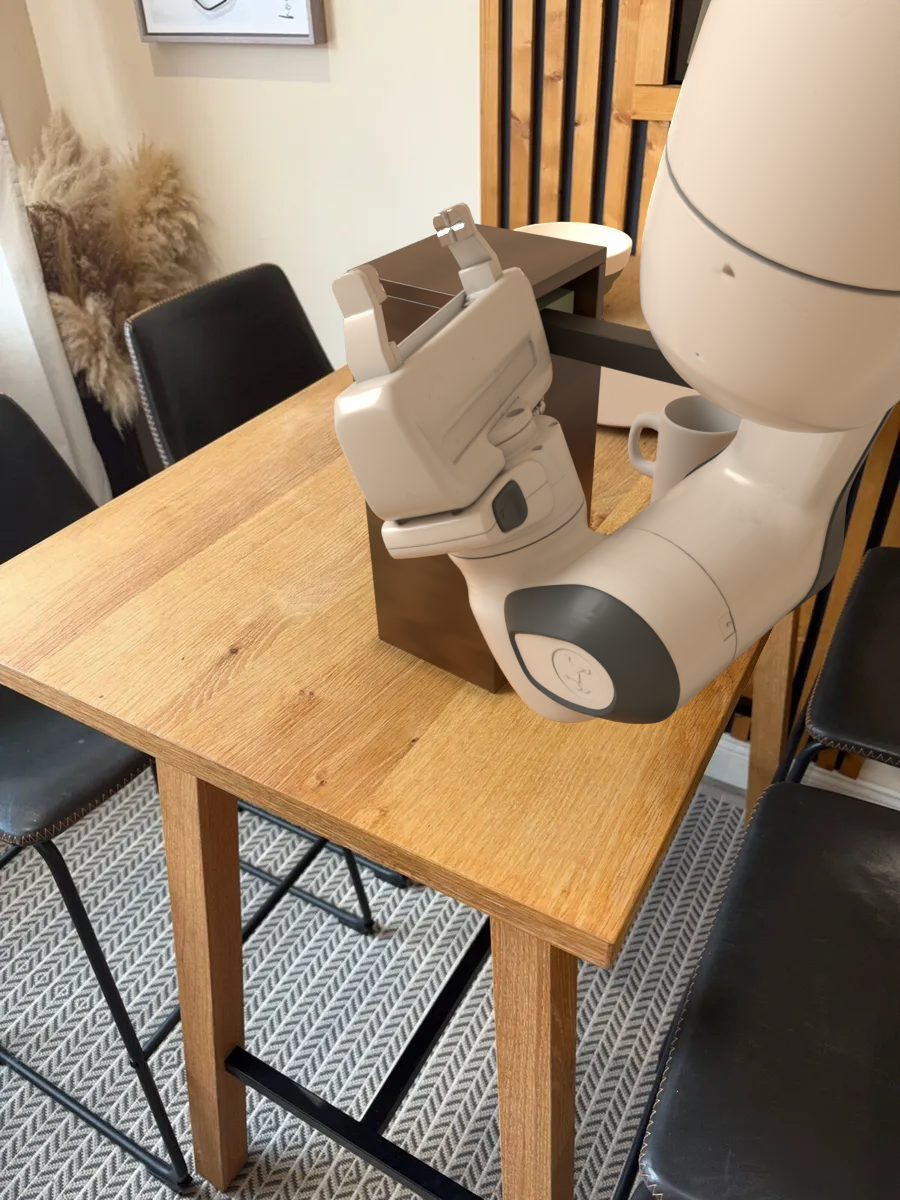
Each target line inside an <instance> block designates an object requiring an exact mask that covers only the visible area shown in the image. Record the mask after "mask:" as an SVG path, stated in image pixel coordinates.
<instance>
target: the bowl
mask: <svg viewBox="0 0 900 1200" xmlns="http://www.w3.org/2000/svg"><path fill="white" fill-rule="evenodd" d="M513 230H514V231H520V232H526V233H531V234H537V235H543V236H548V237H554V238H560V239H565V240H571V241H576V242H582V243H588V244H593V245H599V246H605V247H607V257H606V270H605V285H604V296H606V295H607V293H609V292H610V290H611V289H613V288H612V287H613V286H614V283H615V282H616V280H617V279H618V278H619V277H620V276H621V274H622V272H623V271H624V270H625V267H626V266H627V265H628V262H629V259H630V256H631V253H632V248H633V239H632V238H631V237H630V236H629V235H628V234H627V233H625V232H624V231H622V230H619V229H617V228H614V227H612V226H611V227H610V226H606V225H601V224H596V223H589V222H577V221H575V222H574V221H555V222H543V223H534V224H529V225H525V226H521V227H516V228H514V229H513Z"/></svg>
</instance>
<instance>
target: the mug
mask: <svg viewBox="0 0 900 1200" xmlns="http://www.w3.org/2000/svg"><path fill="white" fill-rule="evenodd" d="M741 420H742V418H741V417H738V416H736V415H734V414H732V413H730V412H728V411H726V410H724V409H722V408H720V407H719V406H717V405H715V404H714V403H712V402H711V401H709V400H708V399H706V398H705V397H704V396H702V395H688V396H682V397H678V398H676V399H673V400H671V401H669V402H668V403H667V404H666V405H665V406H664V407H663V409H662V412H661V413H656V412H644V413H642V414H640V415H639V416H637V417H636V419H635V420H634V422H633V424H632V426H631V429H630V430H629V433H628V439H627V453H628V460H629V463H630V465H631V466H632V468H633V469H634V470H635V471H636V472H638V473H639V474H641V475H643V476H646V477H648V478H649V479H650V478H651V479H652V485H651V493H650V501H649V505H650V504H651V503H653V502H654V501H655V500H657V499H658V498H659V497H661V496H662V495H663V494H665V493H666V492H667V491H669V490H670V489H671V488H673V487H674V486H675V485H677V484H678V483H679V482H681V481H682V479H683V478H684V477H685V476H686V475H687V474H688V473H689V472H691V471H692V470H693V469H694V468H695V467H697V466H698V465H699V464H700V463H701V462H703V461H704V460H705V459H706V458H707V457H709V456H710V455H711V454H712V453H714V452H715V451H716V450H718V449H720V448H721V447H723V446H724V445H726V444H728V443H730V442H731V441H733V440H734V438H735V436H736V434H737V432H738V429H739V426H740V423H741ZM644 427H650V428H649V429H653V430H655V431H657V432H658V433H657V443H656V444H657V445H656V452H655V453H656V454H655V461H653V460H648V459H647V458H645V457H644V456H643V454H642V452H641V447H640V445H641V444H640V439H641V433H642V431H643V429H645V428H644Z"/></svg>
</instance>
